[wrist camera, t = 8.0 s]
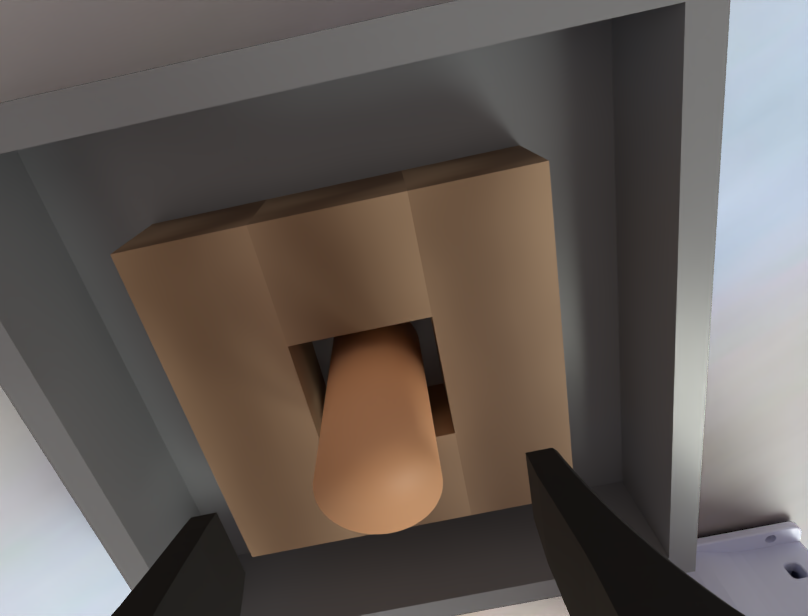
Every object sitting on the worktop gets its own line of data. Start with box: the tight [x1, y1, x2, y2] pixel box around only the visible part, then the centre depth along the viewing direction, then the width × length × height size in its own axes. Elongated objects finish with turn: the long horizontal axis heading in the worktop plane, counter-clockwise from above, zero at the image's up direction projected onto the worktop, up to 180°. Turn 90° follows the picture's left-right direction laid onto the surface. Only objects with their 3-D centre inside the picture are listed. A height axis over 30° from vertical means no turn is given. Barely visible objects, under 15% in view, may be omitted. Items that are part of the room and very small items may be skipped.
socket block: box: [110, 145, 573, 557], centre depth 18 cm, size 12×12×3 cm
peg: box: [313, 322, 443, 534], centre depth 16 cm, size 3×3×7 cm
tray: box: [0, 0, 730, 616], centre depth 18 cm, size 20×20×4 cm
